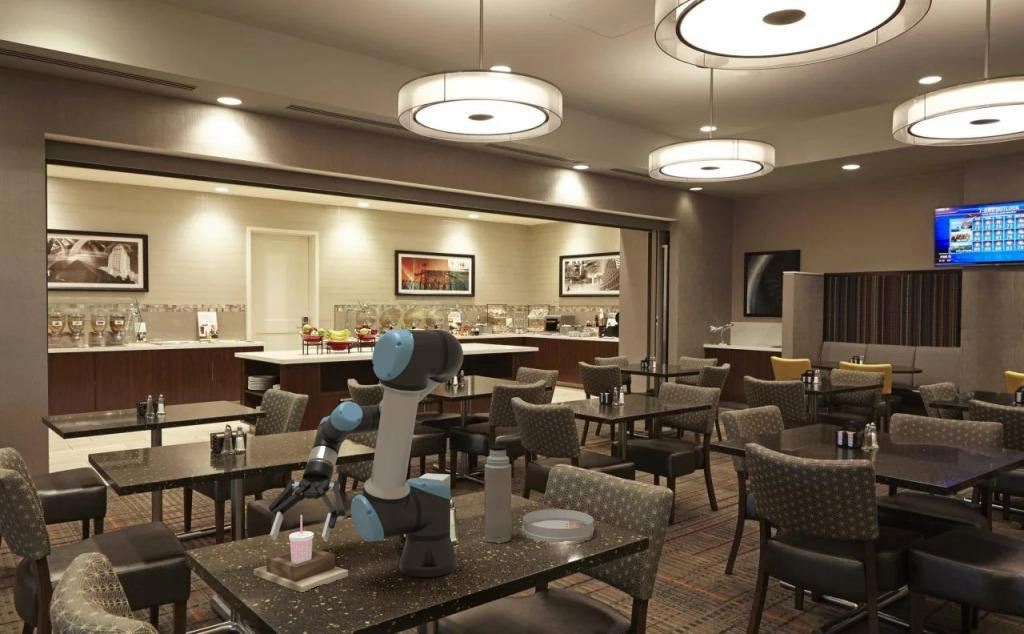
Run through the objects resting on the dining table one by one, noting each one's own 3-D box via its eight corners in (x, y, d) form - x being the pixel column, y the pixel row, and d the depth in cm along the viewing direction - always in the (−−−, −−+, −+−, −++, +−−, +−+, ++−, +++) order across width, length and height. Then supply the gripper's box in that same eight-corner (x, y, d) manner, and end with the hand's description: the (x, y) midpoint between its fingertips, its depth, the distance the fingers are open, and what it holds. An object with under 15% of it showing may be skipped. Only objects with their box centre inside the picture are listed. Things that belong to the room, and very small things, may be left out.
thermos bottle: (480, 542, 208) (481, 447, 208) (489, 534, 216) (489, 443, 216) (506, 545, 206) (506, 449, 206) (514, 537, 213) (514, 444, 213)
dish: (508, 538, 213) (508, 521, 213) (544, 520, 232) (544, 505, 232) (573, 550, 202) (574, 533, 202) (605, 531, 220) (605, 515, 220)
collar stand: (348, 576, 180) (348, 556, 180) (302, 593, 169) (302, 572, 169) (299, 560, 192) (299, 542, 192) (253, 575, 181) (253, 555, 181)
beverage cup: (306, 564, 185) (306, 510, 185) (318, 569, 181) (318, 514, 181) (284, 569, 180) (284, 515, 181) (296, 575, 176) (296, 519, 176)
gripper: (367, 475, 196) (349, 546, 181) (280, 473, 198) (256, 544, 183) (361, 460, 191) (342, 532, 175) (272, 458, 193) (246, 529, 178)
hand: (298, 538), depth 179 cm, fingers open, 13 cm apart
